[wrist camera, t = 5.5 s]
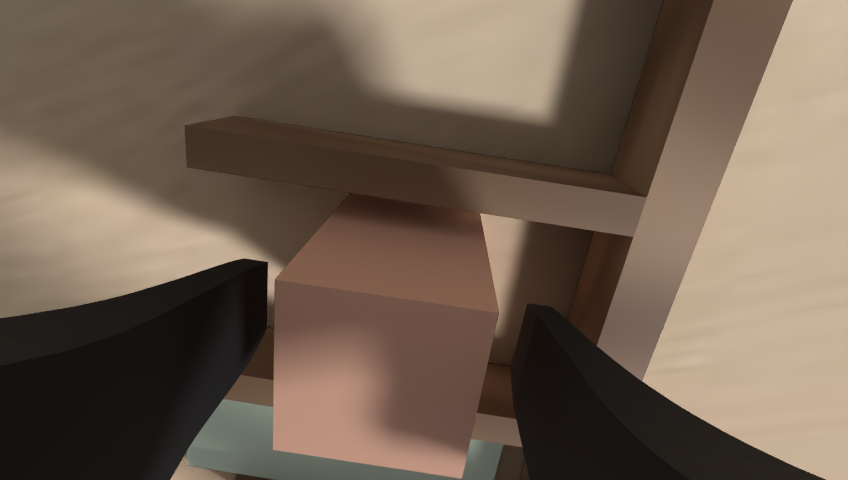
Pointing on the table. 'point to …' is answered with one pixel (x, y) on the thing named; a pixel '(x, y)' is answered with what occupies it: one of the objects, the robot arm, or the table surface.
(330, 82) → the table surface
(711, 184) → the notched rack
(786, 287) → the table surface
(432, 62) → the table surface
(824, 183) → the table surface
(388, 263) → the terracotta block
